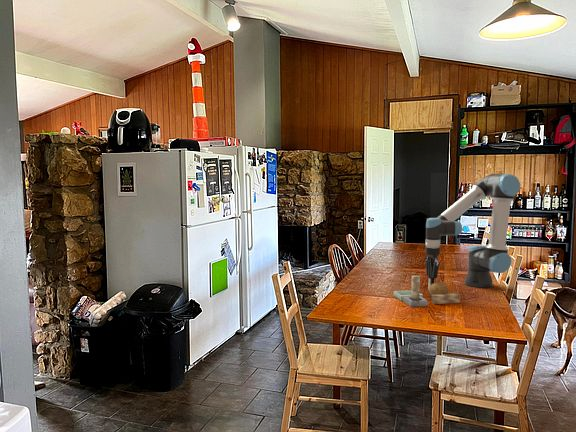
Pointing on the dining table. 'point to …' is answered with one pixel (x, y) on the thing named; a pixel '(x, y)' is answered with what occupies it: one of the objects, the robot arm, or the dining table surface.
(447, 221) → the robot arm
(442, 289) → the potato
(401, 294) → the tray
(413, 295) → the dowel
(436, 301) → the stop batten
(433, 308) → the dining table surface
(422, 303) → the collar
